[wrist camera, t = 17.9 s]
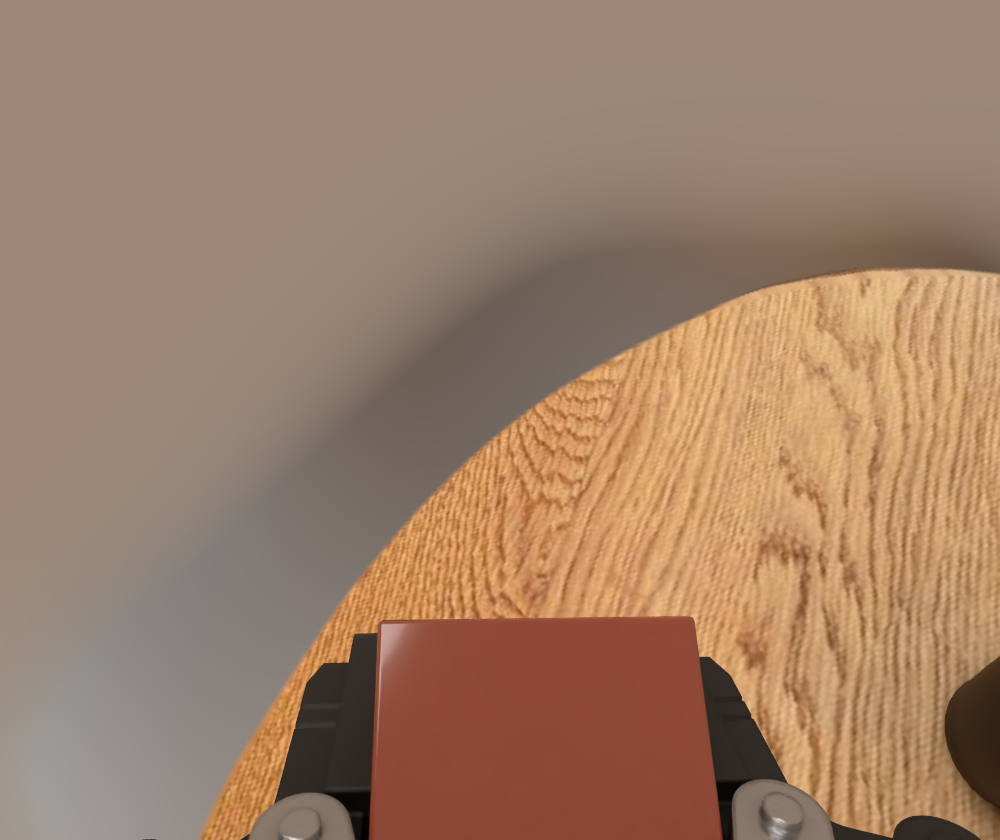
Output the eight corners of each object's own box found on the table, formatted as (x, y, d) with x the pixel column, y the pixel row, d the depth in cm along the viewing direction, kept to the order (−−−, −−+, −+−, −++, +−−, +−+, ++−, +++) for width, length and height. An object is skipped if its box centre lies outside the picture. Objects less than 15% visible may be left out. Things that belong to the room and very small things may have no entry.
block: (609, 897, 16) (747, 1004, 9) (400, 906, 15) (359, 1023, 8) (593, 678, 18) (695, 614, 10) (406, 682, 17) (377, 619, 10)
